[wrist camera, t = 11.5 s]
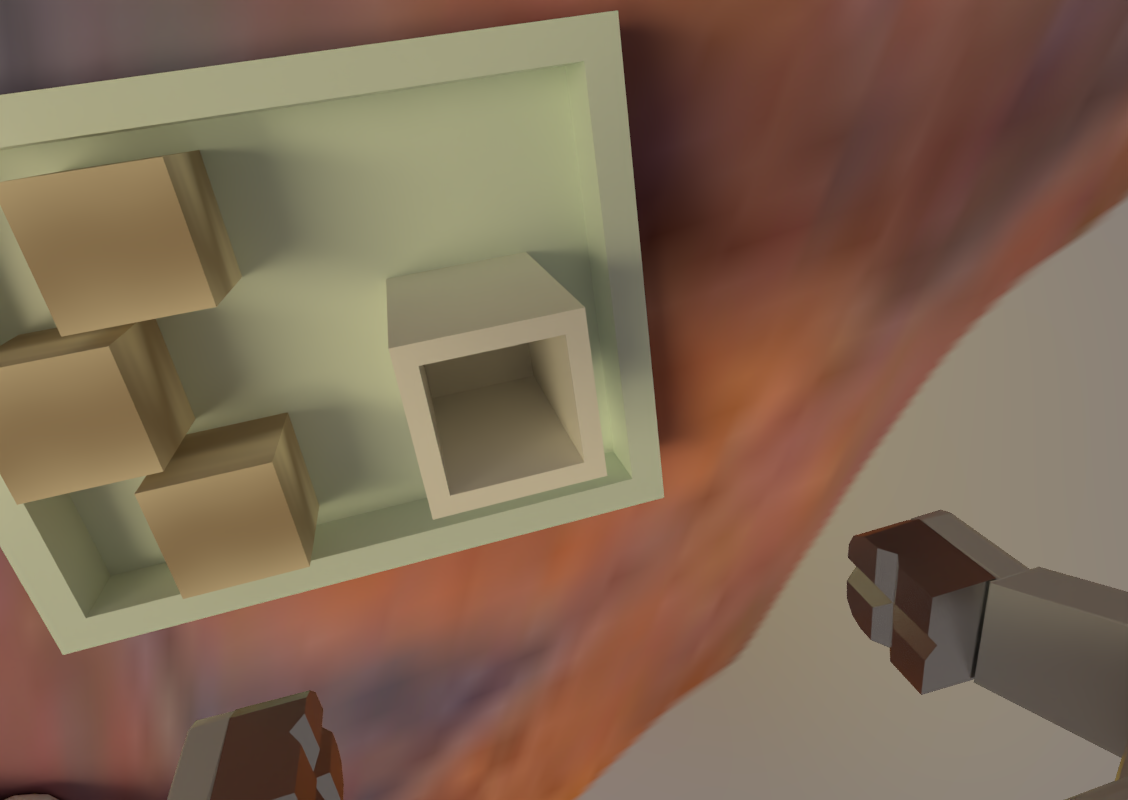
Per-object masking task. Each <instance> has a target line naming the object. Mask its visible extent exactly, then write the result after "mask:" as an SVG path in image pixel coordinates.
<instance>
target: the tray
mask: <svg viewBox="0 0 1128 800" xmlns="http://www.w3.org/2000/svg"><path fill="white" fill-rule="evenodd" d="M195 150H200V153H201V156H202V159H203V162H204V165H205V168H206V171H207V174H208V177H209V180H210V183H211V186H212V189H213V192H214V195H215V198H216V201H217V204H218V207H219V210H220V213H221V216H222V219H223V222H224V224H225V227H226V230H227V233H228V236H229V239H230V242H231V245H232V248H233V251H234V254H235V257H236V260H237V263H238V266H239V269H240V272H241V275H242V278H241V279H240V280H239V281H238V282H237V284H236V285H235V286H234V287H233V288H232V289H231V291H230V292H229V293H228V294H227V295H226V296H225V298H224V299H223V300H222V301H221V302H220V303H219V305H218V306H217V307H214V308H208V309H203V310H198V311H193V312H188V313H182V314H177V315H172V316H167V317H162V318H156V321H157V324H158V326H159V329H160V331H161V334H162V336H163V339H164V341H165V344H166V346H167V349H168V351H169V354H170V356H171V359H172V361H173V364H174V366H175V369H176V371H177V374H178V376H179V379H180V381H181V384H182V386H183V389H184V391H185V394H186V396H187V399H188V401H189V404H190V406H191V409H192V411H193V414H194V416H195V421H194V422H193V424H192V426H191V427H190V429H189V430H188V432H187V434H191V433H196V432H200V431H205V430H209V429H214V428H219V427H223V426H228V425H232V424H237V423H241V422H246V421H250V420H255V419H260V418H264V417H269V416H273V415H278V414H282V413H287V412H288V414H289V417H290V420H291V423H292V426H293V429H294V432H295V435H296V438H297V441H298V444H299V447H300V450H301V453H302V456H303V458H304V461H305V464H306V467H307V470H308V473H309V476H310V479H311V482H312V485H313V488H314V491H315V494H316V497H317V500H318V503H319V511H318V518H317V524H316V530H315V537H314V543H313V550H312V556H311V562H310V567H306V568H303V569H299V570H295V571H291V572H287V573H283V574H279V575H275V576H271V577H267V578H264V579H260V580H256V581H252V582H248V583H244V584H240V585H236V586H232V587H228V588H225V589H221V590H217V591H213V592H209V593H205V594H201V595H197V596H193V597H189V598H186V599H183V598H182V596H181V594H180V591H179V589H178V587H177V585H176V583H175V581H174V579H173V576H172V574H171V572H170V570H169V568H168V566H167V563H166V561H165V559H164V557H163V555H162V553H161V550H160V548H159V546H158V544H157V542H156V540H155V538H154V535H153V533H152V531H151V529H150V527H149V525H148V522H147V520H146V518H145V516H144V514H143V512H142V510H141V507H140V505H139V503H138V501H137V499H136V497H135V492H136V491H137V489H138V488H139V486H140V485H141V483H142V481H143V480H144V478H145V477H146V476H142V477H137V478H133V479H129V480H124V481H120V482H115V483H111V484H107V485H102V486H98V487H93V488H89V489H84V490H80V491H76V492H71V493H67V494H62V495H58V496H54V497H49V498H45V499H40V500H36V501H32V502H27V503H23V504H18V505H17V504H16V502H15V500H14V498H13V497H12V495H11V493H10V491H9V489H8V487H7V486H6V484H5V482H4V480H3V478H2V477H1V475H0V547H1V549H2V550H3V552H4V554H5V555H6V557H7V559H8V561H9V562H10V564H11V566H12V568H13V569H14V571H15V573H16V574H17V576H18V578H19V580H20V581H21V583H22V585H23V587H24V588H25V590H26V592H27V593H28V595H29V597H30V599H31V600H32V602H33V604H34V606H35V607H36V609H37V611H38V613H39V614H40V616H41V618H42V619H43V621H44V623H45V625H46V626H47V628H48V630H49V632H50V633H51V635H52V637H53V638H54V640H55V642H56V644H57V645H58V647H59V649H60V651H61V652H62V654H63V655H64V654H68V653H72V652H76V651H80V650H84V649H87V648H91V647H95V646H99V645H103V644H106V643H110V642H114V641H118V640H122V639H126V638H129V637H133V636H137V635H141V634H145V633H148V632H152V631H156V630H160V629H164V628H168V627H171V626H175V625H179V624H183V623H187V622H190V621H194V620H198V619H202V618H206V617H210V616H213V615H217V614H221V613H225V612H229V611H232V610H236V609H240V608H244V607H248V606H252V605H255V604H259V603H263V602H267V601H271V600H275V599H278V598H282V597H286V596H290V595H294V594H297V593H301V592H305V591H309V590H313V589H317V588H320V587H324V586H328V585H332V584H336V583H339V582H343V581H347V580H351V579H355V578H359V577H362V576H366V575H370V574H374V573H378V572H381V571H385V570H389V569H393V568H397V567H401V566H404V565H408V564H412V563H416V562H420V561H423V560H427V559H431V558H435V557H439V556H443V555H446V554H450V553H454V552H458V551H462V550H465V549H469V548H473V547H477V546H481V545H485V544H488V543H492V542H496V541H500V540H504V539H507V538H511V537H515V536H519V535H523V534H527V533H530V532H534V531H538V530H542V529H546V528H550V527H553V526H557V525H561V524H565V523H569V522H572V521H576V520H580V519H584V518H588V517H592V516H595V515H599V514H603V513H607V512H611V511H614V510H618V509H622V508H626V507H630V506H634V505H637V504H641V503H645V502H649V501H653V500H656V499H660V498H664V490H663V480H662V469H661V459H660V448H659V438H658V427H657V417H656V406H655V395H654V385H653V374H652V364H651V353H650V343H649V332H648V322H647V311H646V301H645V290H644V279H643V269H642V258H641V248H640V237H639V227H638V216H637V206H636V195H635V184H634V174H633V163H632V153H631V142H630V132H629V121H628V111H627V100H626V90H625V79H624V68H623V58H622V47H621V37H620V26H619V16H618V10H617V11H610V12H602V13H595V14H588V15H581V16H573V17H566V18H559V19H551V20H544V21H537V22H529V23H522V24H515V25H508V26H500V27H493V28H486V29H478V30H471V31H464V32H457V33H449V34H442V35H435V36H427V37H420V38H413V39H405V40H398V41H391V42H384V43H376V44H369V45H362V46H354V47H347V48H340V49H333V50H325V51H318V52H311V53H303V54H296V55H289V56H281V57H274V58H267V59H260V60H252V61H245V62H238V63H230V64H223V65H216V66H209V67H201V68H194V69H187V70H179V71H172V72H165V73H157V74H150V75H143V76H136V77H128V78H121V79H114V80H106V81H99V82H92V83H85V84H77V85H70V86H63V87H55V88H48V89H41V90H33V91H26V92H19V93H12V94H4V95H0V182H3V181H9V180H14V179H20V178H26V177H32V176H37V175H43V174H49V173H55V172H60V171H67V170H73V169H80V168H86V167H93V166H99V165H105V164H112V163H118V162H125V161H131V160H138V159H144V158H150V157H157V156H163V155H170V154H176V153H183V152H189V151H195ZM523 252H526V253H527V254H529V255H530V256H531V257H532V258H533V259H534V260H535V261H536V262H537V263H538V264H539V265H540V266H541V267H542V268H543V269H545V270H546V271H547V272H548V273H549V274H550V275H551V276H552V277H553V278H554V279H555V280H556V281H557V282H558V283H559V284H561V285H562V286H563V287H564V288H565V289H566V290H567V291H568V292H569V293H570V294H571V295H572V296H573V297H574V298H575V299H577V300H578V301H579V302H580V303H581V304H582V305H583V306H584V307H585V311H586V318H587V326H588V333H589V341H590V348H591V356H592V364H593V371H594V379H595V386H596V394H597V401H598V409H599V416H600V424H601V432H602V439H603V447H604V454H605V462H606V469H607V476H604V477H600V478H596V479H592V480H588V481H584V482H580V483H577V484H573V485H569V486H565V487H561V488H557V489H553V490H549V491H545V492H541V493H537V494H533V495H529V496H525V497H521V498H517V499H513V500H509V501H505V502H501V503H497V504H493V505H489V506H486V507H482V508H478V509H474V510H470V511H466V512H462V513H458V514H454V515H450V516H446V517H442V518H438V519H434V520H433V518H432V514H431V511H430V507H429V503H428V499H427V495H426V491H425V487H424V484H423V480H422V476H421V472H420V468H419V464H418V461H417V457H416V453H415V449H414V445H413V441H412V438H411V434H410V430H409V426H408V422H407V418H406V415H405V411H404V407H403V403H402V399H401V395H400V391H399V388H398V384H397V380H396V376H395V372H394V368H393V365H392V361H391V357H390V353H389V349H388V323H387V294H386V279H388V278H393V277H399V276H404V275H409V274H414V273H419V272H424V271H430V270H435V269H440V268H445V267H450V266H456V265H461V264H466V263H471V262H476V261H481V260H487V259H492V258H497V257H502V256H507V255H513V254H518V253H523ZM52 328H57V326H56V324H55V322H54V320H53V318H52V316H51V313H50V311H49V309H48V307H47V305H46V303H45V300H44V298H43V296H42V294H41V292H40V290H39V288H38V285H37V283H36V281H35V279H34V277H33V275H32V272H31V270H30V268H29V266H28V264H27V262H26V259H25V257H24V255H23V253H22V251H21V249H20V247H19V244H18V242H17V240H16V238H15V236H14V234H13V231H12V229H11V227H10V225H9V223H8V221H7V219H6V216H5V214H4V212H3V210H2V208H1V206H0V346H1V345H3V344H4V343H6V342H7V341H9V340H11V339H12V338H14V337H16V336H17V335H21V334H26V333H31V332H36V331H42V330H47V329H52ZM187 434H186V435H187Z"/></svg>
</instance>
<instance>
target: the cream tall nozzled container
mask: <svg viewBox="0 0 1128 800" xmlns="http://www.w3.org/2000/svg"><path fill="white" fill-rule="evenodd" d="M5 800H59V799H57V798H55V797H53V796H51V795H49V794H28V795H14V796H12V797H9V798H7V799H5Z"/></svg>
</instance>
